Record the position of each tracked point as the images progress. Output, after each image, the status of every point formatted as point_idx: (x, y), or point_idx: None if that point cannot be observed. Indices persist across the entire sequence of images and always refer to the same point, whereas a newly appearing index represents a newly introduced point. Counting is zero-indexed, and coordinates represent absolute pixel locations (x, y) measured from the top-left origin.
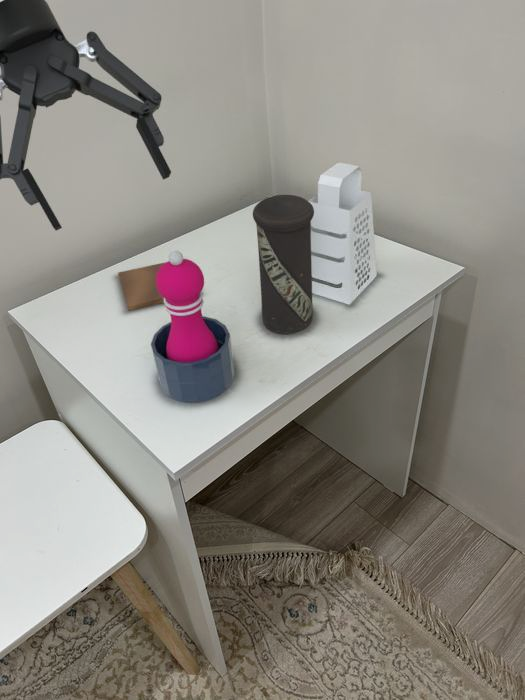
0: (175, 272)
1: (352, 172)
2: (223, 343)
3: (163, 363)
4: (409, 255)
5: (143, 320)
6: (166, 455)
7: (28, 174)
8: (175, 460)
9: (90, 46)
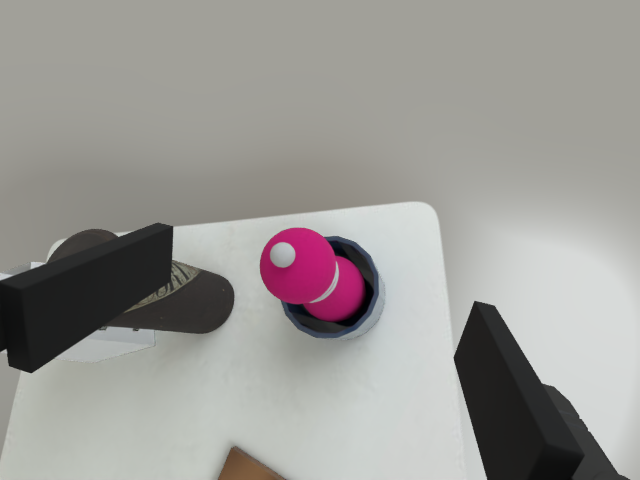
0: (303, 241)
1: None
2: None
3: (378, 273)
4: None
5: (323, 459)
6: (433, 218)
7: (547, 426)
8: (429, 208)
9: None
